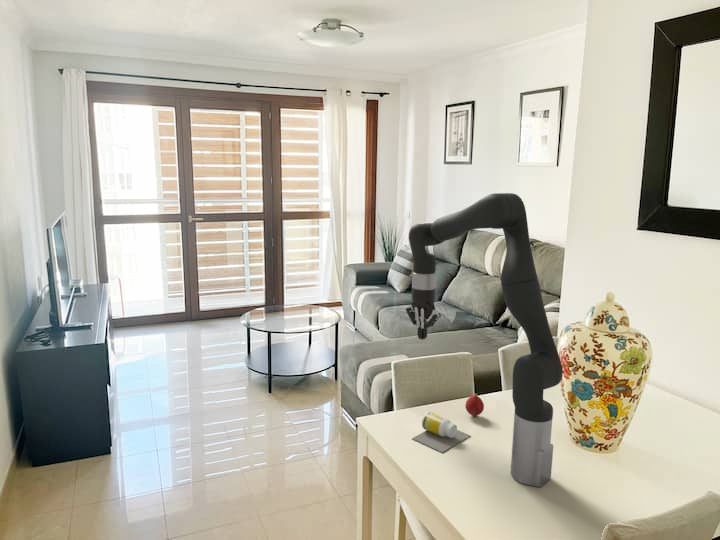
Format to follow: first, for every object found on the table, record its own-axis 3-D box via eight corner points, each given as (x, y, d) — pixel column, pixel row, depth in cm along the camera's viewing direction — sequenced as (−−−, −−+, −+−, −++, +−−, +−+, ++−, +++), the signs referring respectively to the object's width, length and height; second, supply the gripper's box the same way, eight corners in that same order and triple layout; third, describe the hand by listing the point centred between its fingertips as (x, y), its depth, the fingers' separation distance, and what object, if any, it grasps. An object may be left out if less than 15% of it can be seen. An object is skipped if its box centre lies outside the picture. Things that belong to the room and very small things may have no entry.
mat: (470, 436, 157) (470, 435, 157) (442, 453, 147) (442, 452, 147) (440, 423, 165) (440, 423, 165) (412, 439, 155) (412, 438, 155)
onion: (461, 414, 171) (462, 391, 170) (475, 411, 174) (476, 388, 172) (472, 422, 166) (473, 398, 165) (486, 418, 169) (488, 395, 167)
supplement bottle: (423, 432, 160) (449, 444, 154) (419, 419, 158) (446, 431, 151) (433, 420, 163) (459, 431, 157) (429, 407, 161) (456, 418, 154)
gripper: (447, 287, 165) (445, 340, 168) (415, 281, 174) (413, 332, 177) (433, 291, 159) (431, 346, 162) (400, 284, 168) (399, 336, 172)
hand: (422, 338), depth 170 cm, fingers closed
